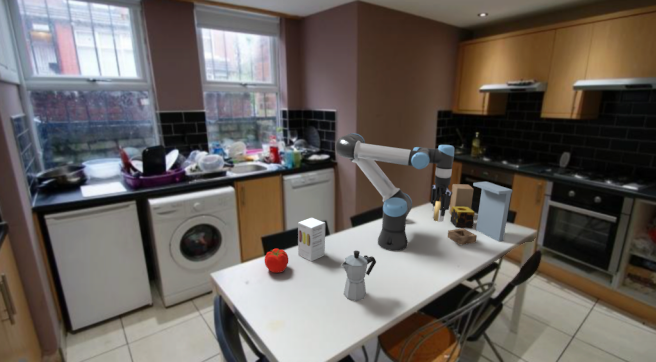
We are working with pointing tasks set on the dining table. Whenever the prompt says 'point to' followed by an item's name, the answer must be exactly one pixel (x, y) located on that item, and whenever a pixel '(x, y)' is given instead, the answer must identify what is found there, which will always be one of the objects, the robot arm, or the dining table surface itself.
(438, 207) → the peg
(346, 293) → the coffee maker
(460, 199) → the wooden block
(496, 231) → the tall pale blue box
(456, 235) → the socket block
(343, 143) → the robot arm
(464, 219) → the yellow black tissue box
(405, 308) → the dining table surface
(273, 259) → the tomato
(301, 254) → the supplement box
